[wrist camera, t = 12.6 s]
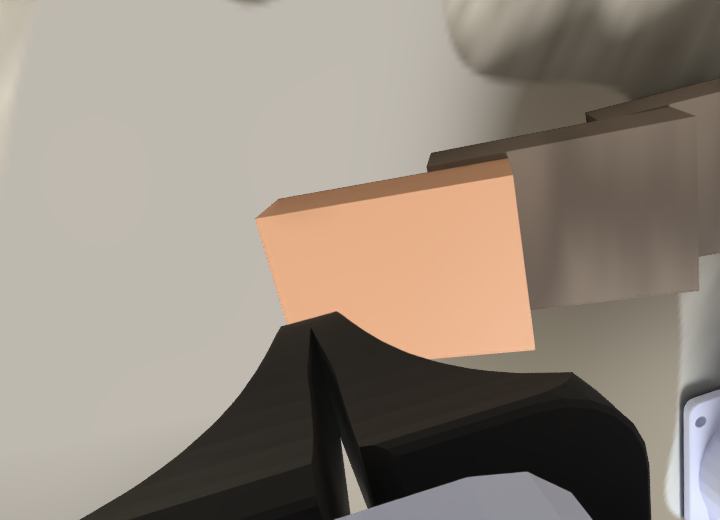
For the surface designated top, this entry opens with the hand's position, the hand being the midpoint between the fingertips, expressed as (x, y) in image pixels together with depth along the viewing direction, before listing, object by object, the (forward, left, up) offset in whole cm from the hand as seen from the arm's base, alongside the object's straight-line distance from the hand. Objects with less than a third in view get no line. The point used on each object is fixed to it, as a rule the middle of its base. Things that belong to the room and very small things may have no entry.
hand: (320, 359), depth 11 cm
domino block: (0, -5, -6) cm, 7 cm away
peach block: (0, 0, -6) cm, 6 cm away
